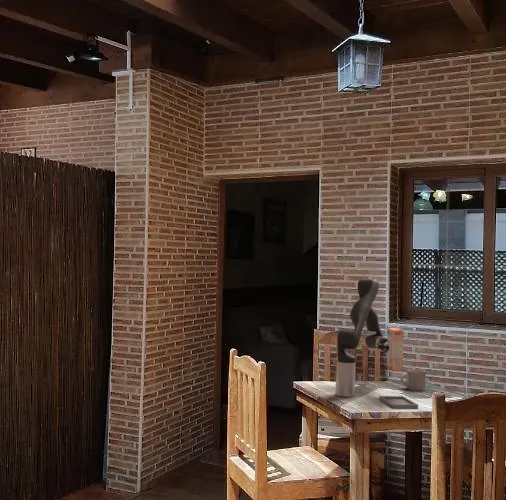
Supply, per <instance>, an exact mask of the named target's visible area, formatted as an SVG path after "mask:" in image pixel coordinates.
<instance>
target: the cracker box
mask: <svg viewBox="0 0 506 500" xmlns="http://www.w3.org/2000/svg"><path fill="white" fill-rule="evenodd" d="M387 338H388V344H387V346H389V350H387V352H386V353H387V356H386V368H388V369H389V370H390V371H391V372H403V371H404V370H403V369H404V359H403V358H404V330H402V329H400V328H399V327H388V328H387Z"/></svg>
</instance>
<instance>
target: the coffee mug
mask: <svg viewBox="0 0 506 500" xmlns="http://www.w3.org/2000/svg"><path fill="white" fill-rule="evenodd" d="M426 374H427V373H426V370H424V369H415V368H413V369H411V368H409V369H406V373H404V372H403V374H401V376H400V382H401V383H402V384H403V385H405V386H406V389H407V390H410V391H425V390H426ZM405 377H406V380H404V378H405ZM424 389H425V390H424Z"/></svg>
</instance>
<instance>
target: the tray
mask: <svg viewBox="0 0 506 500" xmlns="http://www.w3.org/2000/svg"><path fill="white" fill-rule="evenodd" d="M379 401H381V402H382V403H383V404H385V405H387V406H388V407H390V408H391V409H419V404H418V403H416V402H414V401H412V400H411V399H410V398H407V397H406V396H403V395H398V396H397V395H380V396H379Z"/></svg>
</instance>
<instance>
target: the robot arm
mask: <svg viewBox="0 0 506 500" xmlns="http://www.w3.org/2000/svg"><path fill="white" fill-rule="evenodd" d="M379 290H380V285H379V282H378V280H377V279H375V278H366V279H365V278H363V279H359V280H358V282H357V293H358V295H359V296H358V297H359V299H358V300H357V301H356V302H355V303H353V305H352V308H351V311H350V313H349V317H350V320H351V323H352V324H353V326H354V330H353V331H352V330H339V331H338V334H337V335H336V336H337V338H336V339H337V341H336V345H337V346H336V348H337V349H336V350H337V351H336V352H337V364H336V365H337V367H336V369H337V371H336V376H335V395H336V396H338V397H344V398H345V397H346V398H350V397H355V395H356V393H355V387H356V364H357V363H356V359H357V358H356V356H355V355H352V354H350V353H349V351H347V349H348V350H356V349H358V348H359V345H360V342H361V339H362V334H363V331H364V327H365V325H366V330H367V331H368V332H370V333H371V332H373V333H374V334H373V333H372V334H369V335H366V336H365V339H364V340H365V345H366V347H368V348H369V349H378V350H379V351H381V352H384V353H387V350H389V346H387V344H388V337H386V336H384V335H383V333H382V330H381V328H380V323H379V317H378V314H377V312H376V310H375V309H374V308H373V306H372V305H373V303H374V301H375V299H376V297H377V294H378V292H379Z"/></svg>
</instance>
